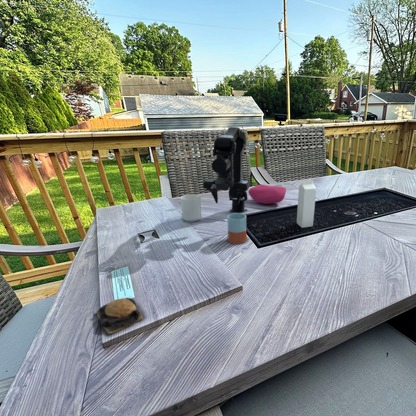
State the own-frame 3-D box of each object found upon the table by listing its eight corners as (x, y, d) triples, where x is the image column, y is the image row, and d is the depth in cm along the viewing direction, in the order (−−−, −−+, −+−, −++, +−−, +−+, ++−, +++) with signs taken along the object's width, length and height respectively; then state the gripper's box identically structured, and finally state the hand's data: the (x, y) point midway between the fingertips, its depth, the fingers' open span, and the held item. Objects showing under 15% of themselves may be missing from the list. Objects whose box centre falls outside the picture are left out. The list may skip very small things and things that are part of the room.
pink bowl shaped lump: (244, 200, 157) (243, 184, 154) (266, 194, 170) (266, 179, 167) (270, 210, 143) (271, 193, 140) (293, 203, 156) (293, 187, 153)
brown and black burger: (94, 313, 66) (91, 301, 65) (130, 298, 72) (128, 287, 71) (106, 337, 59) (102, 324, 58) (145, 318, 65) (143, 306, 64)
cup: (236, 234, 113) (235, 223, 111) (249, 238, 110) (249, 227, 108) (224, 240, 107) (223, 229, 105) (238, 245, 103) (238, 234, 102)
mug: (203, 220, 125) (201, 198, 121) (183, 223, 121) (181, 200, 118) (199, 212, 135) (198, 191, 131) (181, 214, 132) (179, 193, 128)
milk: (313, 226, 125) (317, 181, 118) (301, 228, 123) (305, 182, 115) (307, 221, 130) (310, 178, 123) (296, 223, 128) (299, 179, 120)
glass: (235, 223, 111) (235, 211, 109) (249, 227, 108) (249, 215, 106) (223, 229, 105) (223, 217, 103) (238, 234, 102) (238, 221, 100)
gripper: (196, 171, 101) (199, 208, 107) (244, 174, 100) (244, 211, 106) (206, 165, 111) (208, 200, 117) (249, 168, 111) (249, 202, 116)
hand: (227, 203), depth 114 cm, fingers open, 9 cm apart
